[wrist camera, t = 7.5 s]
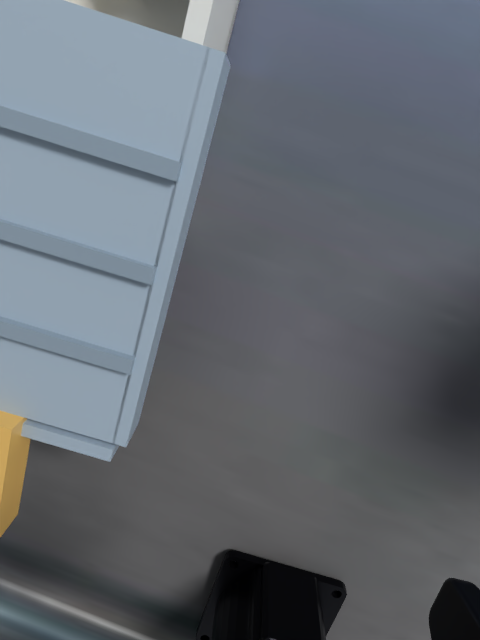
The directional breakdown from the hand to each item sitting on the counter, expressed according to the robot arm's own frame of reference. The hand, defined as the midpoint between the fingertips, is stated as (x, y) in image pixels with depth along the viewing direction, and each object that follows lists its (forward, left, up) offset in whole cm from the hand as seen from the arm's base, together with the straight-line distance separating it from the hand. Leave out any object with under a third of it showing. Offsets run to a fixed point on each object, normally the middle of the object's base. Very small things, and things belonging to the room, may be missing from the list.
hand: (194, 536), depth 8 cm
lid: (0, +8, -8) cm, 11 cm away
